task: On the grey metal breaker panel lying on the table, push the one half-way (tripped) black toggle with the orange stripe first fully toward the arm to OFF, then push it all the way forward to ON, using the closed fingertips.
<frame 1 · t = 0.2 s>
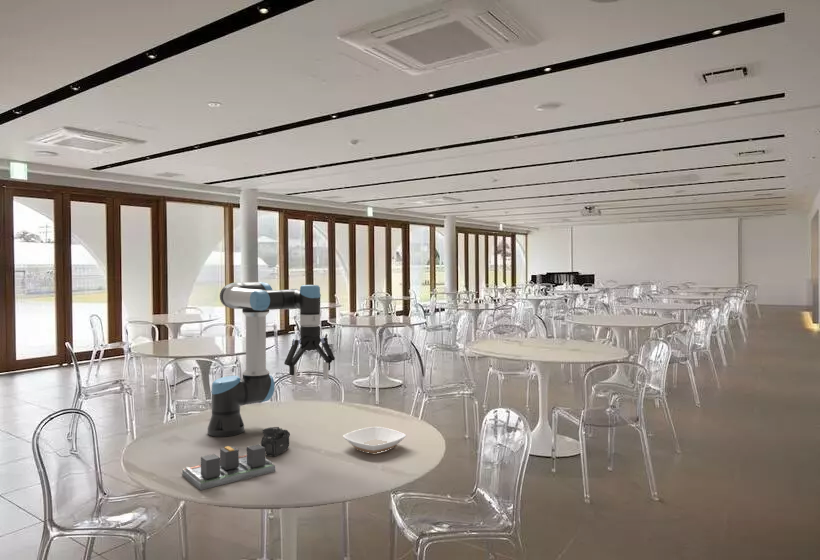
hand: (310, 381, 211), 28 cm above the table, fingers open, 13 cm apart
breaker 2: (229, 457, 191), point 5 cm above the table, slide at 0.0 cm
panel: (229, 473, 192), on the table
bowl: (374, 449, 219), on the table
breaker 1: (210, 466, 183), point 5 cm above the table, slide at 3.8 cm
breaker 3: (256, 455, 194), point 5 cm above the table, slide at 3.8 cm
camera: (275, 452, 214), on the table
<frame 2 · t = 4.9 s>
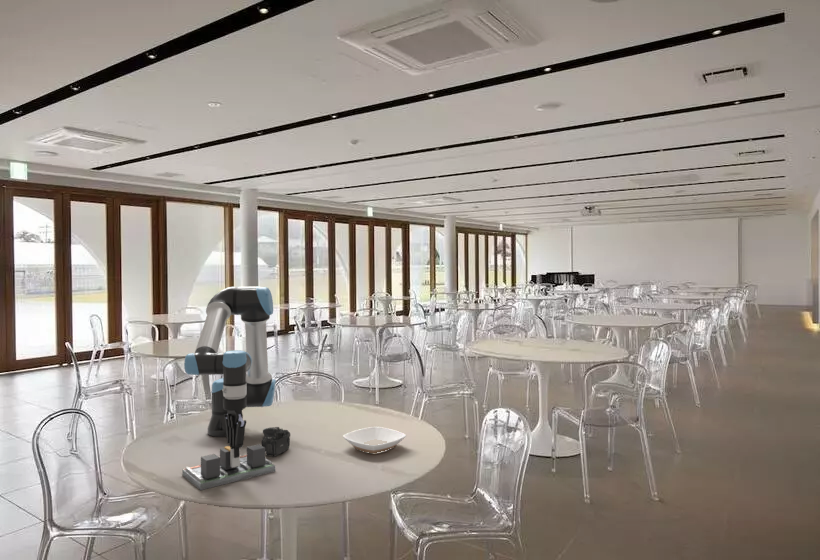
hand: (235, 466, 188), 4 cm above the table, fingers closed
breaker 2: (229, 457, 192), point 5 cm above the table, slide at -0.2 cm, touching gripper
everything else where it was.
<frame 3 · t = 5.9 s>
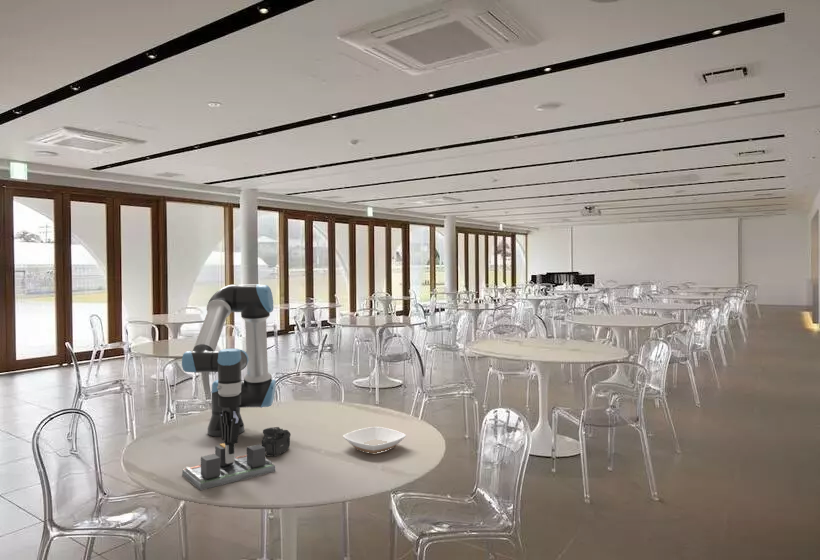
hand: (229, 462, 191), 4 cm above the table, fingers closed
breaker 2: (224, 454, 195), point 5 cm above the table, slide at -4.4 cm, touching gripper
everything else where it was.
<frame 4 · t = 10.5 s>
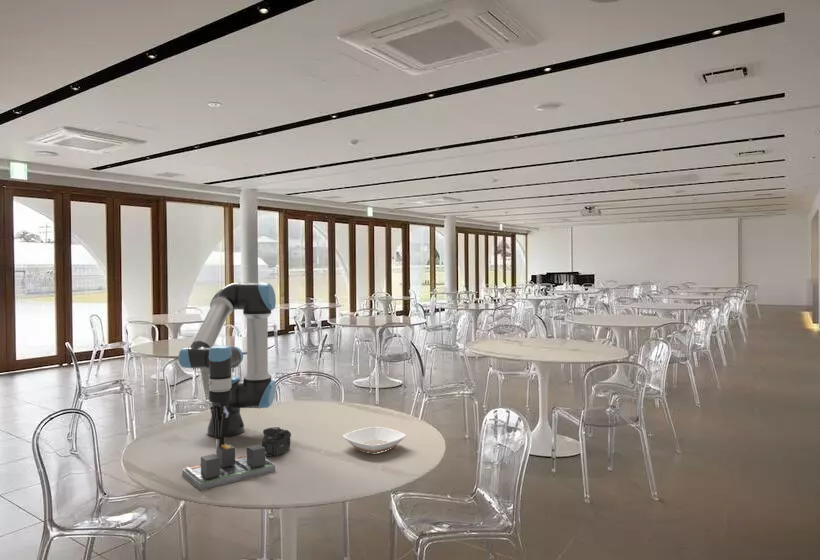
hand: (220, 455, 197), 4 cm above the table, fingers closed
breaker 2: (225, 455, 194), point 5 cm above the table, slide at -3.0 cm, touching gripper
everything else where it was.
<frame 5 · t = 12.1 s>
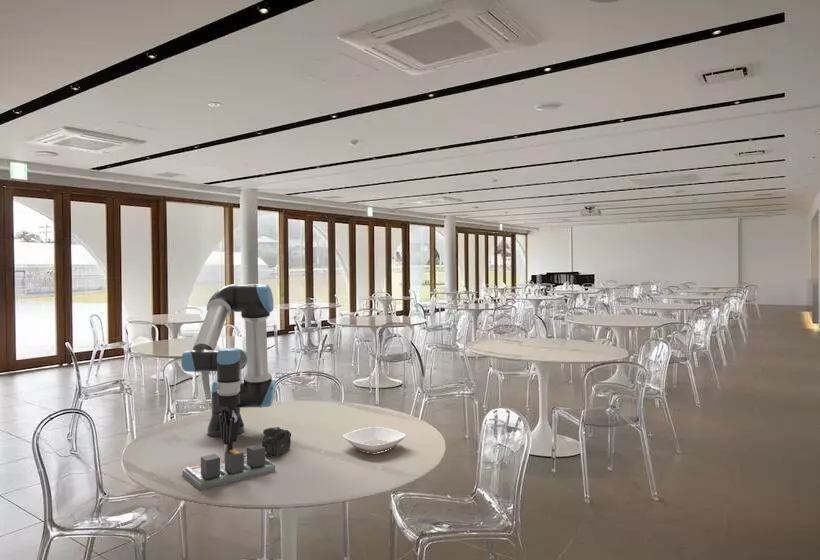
hand: (228, 461, 192), 4 cm above the table, fingers closed
breaker 2: (234, 460, 188), point 5 cm above the table, slide at 4.3 cm, touching gripper
everything else where it was.
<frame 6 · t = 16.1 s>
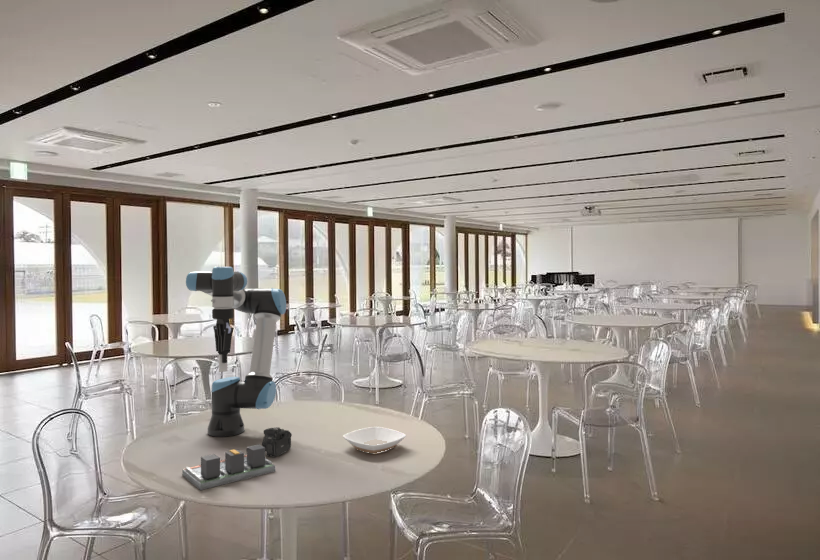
hand: (223, 371, 206), 32 cm above the table, fingers closed
breaker 2: (234, 460, 188), point 5 cm above the table, slide at 4.4 cm
everything else where it was.
at the end: breaker 2 slide at 4.4 cm; breaker 1 slide at 3.8 cm; breaker 3 slide at 3.8 cm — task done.
